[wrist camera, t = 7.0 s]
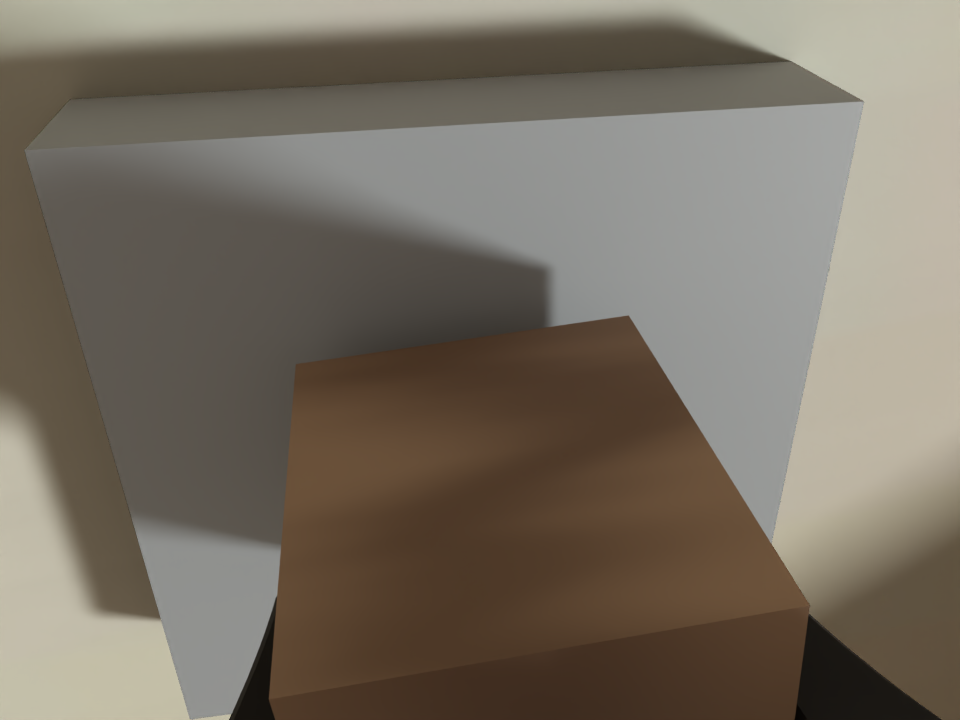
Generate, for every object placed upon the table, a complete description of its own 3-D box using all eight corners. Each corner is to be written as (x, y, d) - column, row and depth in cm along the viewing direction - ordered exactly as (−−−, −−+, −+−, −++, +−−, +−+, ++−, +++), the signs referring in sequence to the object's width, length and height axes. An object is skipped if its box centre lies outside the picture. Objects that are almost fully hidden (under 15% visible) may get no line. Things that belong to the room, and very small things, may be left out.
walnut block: (628, 315, 13) (809, 605, 8) (630, 562, 16) (770, 903, 11) (295, 364, 13) (269, 699, 8) (351, 609, 16) (358, 985, 10)
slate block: (779, 55, 16) (864, 101, 13) (702, 552, 22) (749, 648, 20) (77, 90, 15) (24, 149, 12) (207, 609, 21) (190, 719, 18)
